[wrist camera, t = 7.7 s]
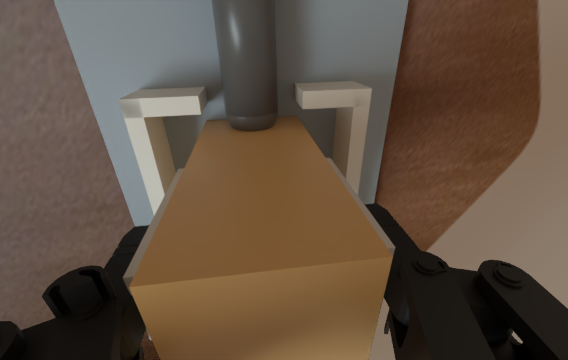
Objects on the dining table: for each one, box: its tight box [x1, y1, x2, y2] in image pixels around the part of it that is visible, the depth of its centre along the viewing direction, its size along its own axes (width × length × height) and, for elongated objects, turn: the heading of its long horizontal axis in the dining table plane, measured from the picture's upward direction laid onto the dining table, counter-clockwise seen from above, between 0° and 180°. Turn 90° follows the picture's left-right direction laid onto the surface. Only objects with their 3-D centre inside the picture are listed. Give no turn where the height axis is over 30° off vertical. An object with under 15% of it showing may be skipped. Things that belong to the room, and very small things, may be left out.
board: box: [54, 0, 409, 226], centre depth 13 cm, size 19×16×3 cm
